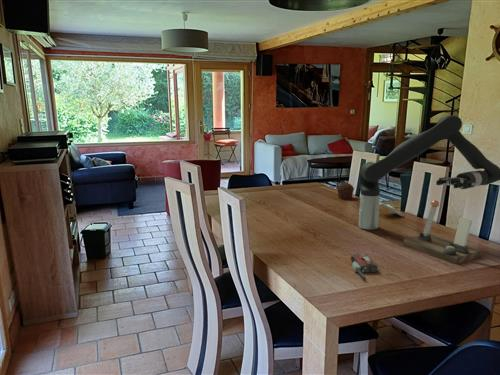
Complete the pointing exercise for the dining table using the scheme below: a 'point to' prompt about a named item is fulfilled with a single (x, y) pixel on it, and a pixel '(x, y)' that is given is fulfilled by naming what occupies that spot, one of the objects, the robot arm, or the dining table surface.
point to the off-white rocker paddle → (462, 232)
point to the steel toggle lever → (430, 217)
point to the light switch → (391, 208)
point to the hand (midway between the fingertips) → (445, 184)
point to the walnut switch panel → (442, 248)
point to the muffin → (345, 191)
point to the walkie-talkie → (363, 264)
